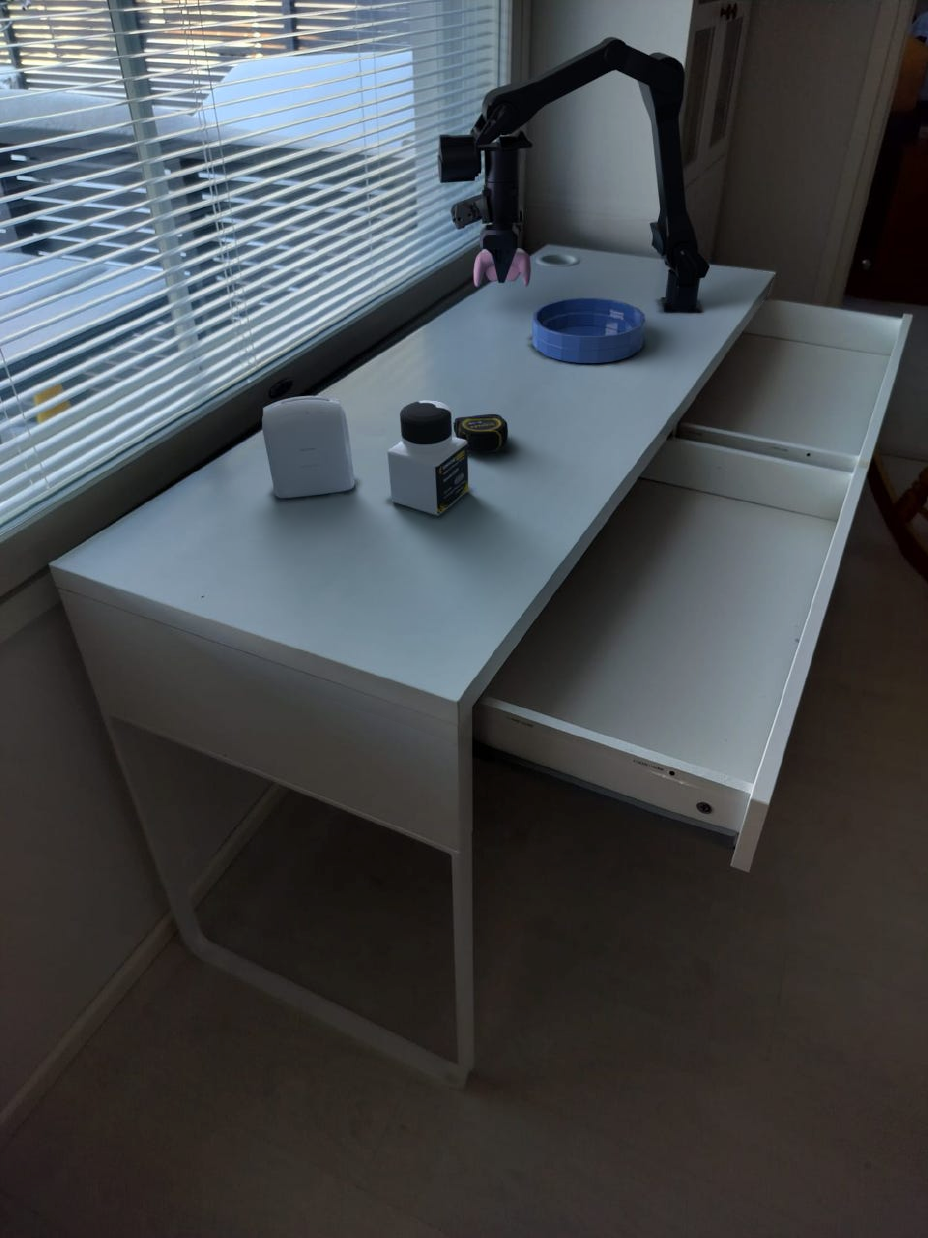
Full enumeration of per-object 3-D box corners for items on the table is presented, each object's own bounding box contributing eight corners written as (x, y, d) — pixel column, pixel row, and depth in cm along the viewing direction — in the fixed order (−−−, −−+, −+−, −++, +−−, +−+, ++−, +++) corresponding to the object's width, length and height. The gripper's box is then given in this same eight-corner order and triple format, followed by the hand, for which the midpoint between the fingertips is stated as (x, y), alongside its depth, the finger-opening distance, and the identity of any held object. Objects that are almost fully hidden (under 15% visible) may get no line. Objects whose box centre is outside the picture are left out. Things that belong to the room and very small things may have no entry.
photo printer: (274, 502, 111) (257, 410, 103) (273, 485, 114) (257, 395, 106) (356, 493, 112) (345, 401, 104) (353, 476, 115) (343, 386, 107)
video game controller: (530, 290, 156) (532, 247, 154) (529, 285, 151) (531, 241, 150) (474, 289, 157) (475, 247, 155) (472, 285, 152) (473, 242, 151)
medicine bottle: (438, 517, 107) (433, 426, 99) (390, 502, 110) (382, 412, 103) (469, 490, 112) (467, 401, 104) (422, 477, 115) (417, 389, 107)
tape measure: (501, 433, 124) (501, 408, 121) (512, 455, 118) (513, 430, 116) (453, 438, 123) (452, 413, 121) (462, 461, 118) (461, 435, 115)
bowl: (534, 322, 156) (535, 297, 154) (638, 323, 155) (641, 297, 152) (530, 363, 142) (531, 336, 140) (645, 365, 141) (648, 337, 138)
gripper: (458, 166, 152) (461, 260, 162) (446, 193, 138) (450, 295, 147) (523, 165, 151) (522, 260, 161) (518, 193, 137) (517, 295, 146)
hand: (502, 276), depth 154 cm, fingers closed on video game controller, 6 cm apart
